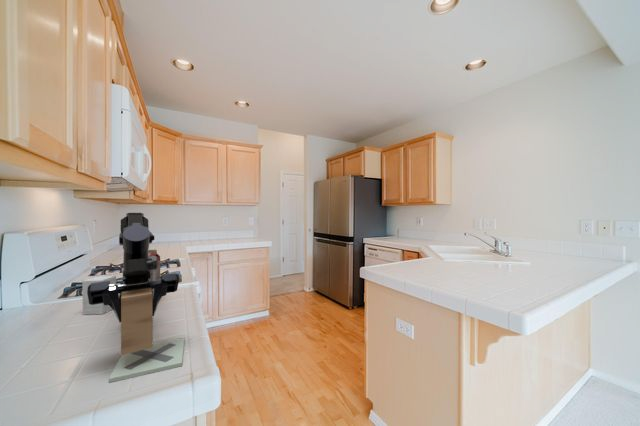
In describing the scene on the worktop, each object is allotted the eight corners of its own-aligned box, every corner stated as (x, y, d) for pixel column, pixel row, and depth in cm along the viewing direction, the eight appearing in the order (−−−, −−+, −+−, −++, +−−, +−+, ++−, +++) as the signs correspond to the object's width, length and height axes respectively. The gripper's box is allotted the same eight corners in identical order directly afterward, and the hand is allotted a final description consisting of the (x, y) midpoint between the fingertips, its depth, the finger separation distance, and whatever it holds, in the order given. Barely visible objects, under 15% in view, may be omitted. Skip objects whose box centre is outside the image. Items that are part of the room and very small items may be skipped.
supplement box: (117, 307, 103) (117, 275, 103) (102, 314, 95) (102, 280, 95) (98, 307, 102) (98, 275, 102) (81, 315, 95) (81, 280, 95)
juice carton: (153, 304, 105) (152, 250, 105) (135, 305, 104) (134, 251, 104) (160, 299, 112) (160, 248, 112) (143, 300, 111) (143, 249, 111)
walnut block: (122, 344, 64) (121, 292, 64) (151, 337, 67) (150, 287, 67) (121, 355, 59) (121, 298, 59) (152, 347, 63) (152, 293, 63)
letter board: (124, 352, 69) (124, 348, 69) (184, 340, 75) (184, 337, 75) (108, 382, 56) (108, 378, 56) (182, 366, 62) (182, 362, 62)
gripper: (88, 249, 61) (81, 310, 52) (177, 243, 72) (184, 293, 63) (92, 276, 67) (86, 334, 58) (174, 267, 78) (179, 315, 69)
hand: (137, 318), depth 62 cm, fingers closed on walnut block, 6 cm apart
